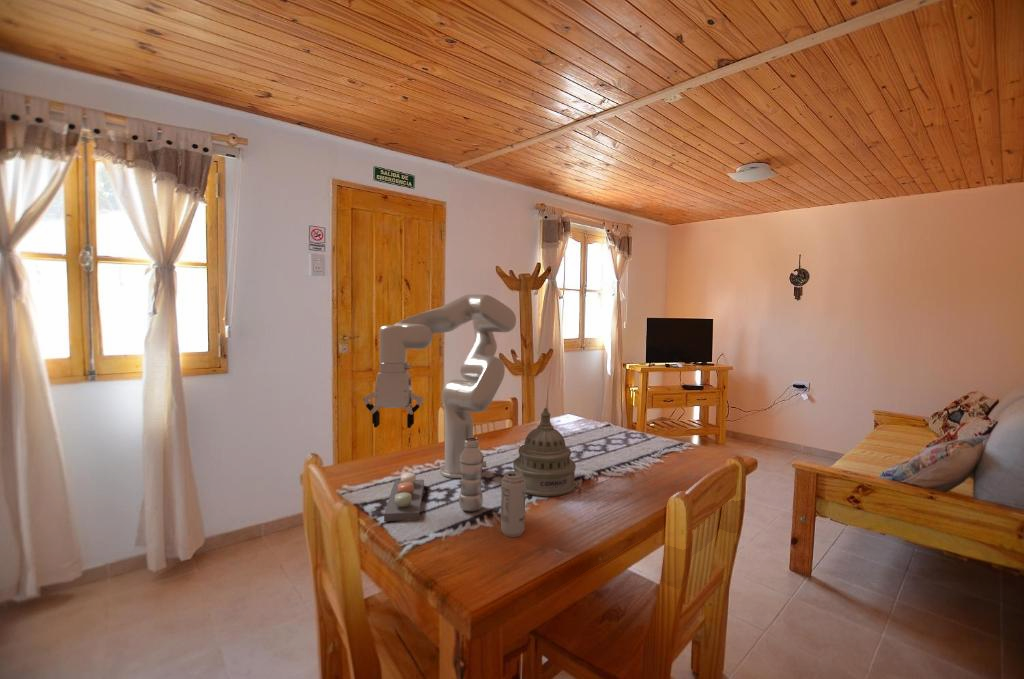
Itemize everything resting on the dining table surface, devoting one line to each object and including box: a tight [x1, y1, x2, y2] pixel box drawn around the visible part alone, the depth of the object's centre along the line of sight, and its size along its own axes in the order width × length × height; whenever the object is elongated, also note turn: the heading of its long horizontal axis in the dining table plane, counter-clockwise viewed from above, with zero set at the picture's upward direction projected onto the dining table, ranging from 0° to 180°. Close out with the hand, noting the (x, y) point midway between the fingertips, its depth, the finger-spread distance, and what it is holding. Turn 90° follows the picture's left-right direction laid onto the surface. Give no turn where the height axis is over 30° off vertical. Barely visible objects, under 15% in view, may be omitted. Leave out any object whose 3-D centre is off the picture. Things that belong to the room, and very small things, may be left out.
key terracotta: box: [398, 482, 414, 494], centre depth 134 cm, size 4×4×2 cm
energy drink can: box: [500, 470, 526, 538], centre depth 117 cm, size 6×6×15 cm
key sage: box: [395, 493, 411, 506], centre depth 126 cm, size 4×4×2 cm
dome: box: [512, 407, 577, 497], centre depth 148 cm, size 20×25×20 cm
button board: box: [383, 479, 425, 522], centre depth 134 cm, size 9×23×2 cm, turn 7°
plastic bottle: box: [458, 437, 484, 512], centre depth 129 cm, size 6×7×20 cm
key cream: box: [400, 472, 417, 483], centre depth 141 cm, size 4×4×2 cm
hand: (393, 426), depth 134 cm, fingers open, 9 cm apart
